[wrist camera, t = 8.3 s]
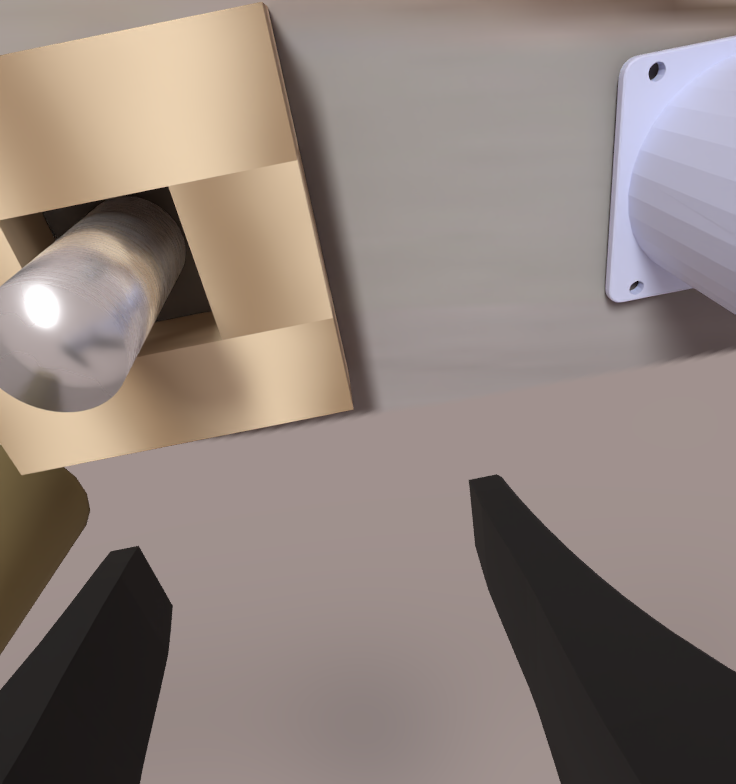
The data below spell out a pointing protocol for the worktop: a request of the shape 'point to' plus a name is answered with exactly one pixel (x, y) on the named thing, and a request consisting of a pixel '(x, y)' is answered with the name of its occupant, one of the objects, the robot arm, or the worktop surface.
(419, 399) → the worktop surface
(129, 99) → the oak frame
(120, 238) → the long pin
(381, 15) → the worktop surface
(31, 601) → the cork
